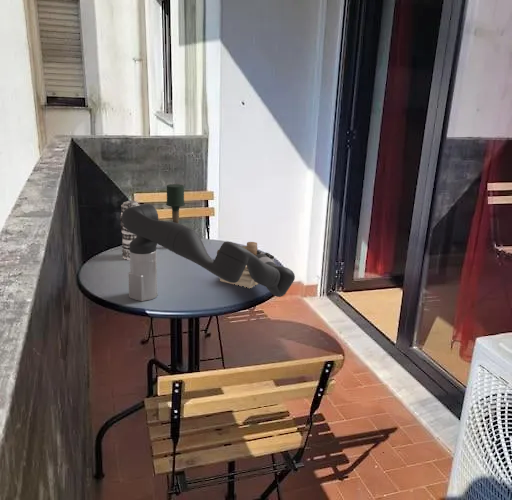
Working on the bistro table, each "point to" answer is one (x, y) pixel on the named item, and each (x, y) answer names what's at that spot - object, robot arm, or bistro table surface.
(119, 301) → the bistro table surface
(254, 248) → the peg
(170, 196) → the potato masher grenade
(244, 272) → the board
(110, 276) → the bistro table surface
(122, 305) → the bistro table surface
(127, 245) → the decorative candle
